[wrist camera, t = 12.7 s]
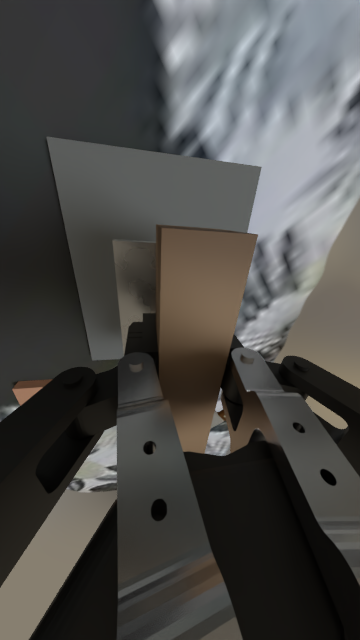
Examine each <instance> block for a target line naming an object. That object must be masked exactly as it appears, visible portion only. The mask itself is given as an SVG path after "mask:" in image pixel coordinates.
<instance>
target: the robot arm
mask: <svg viewBox="0 0 360 640" xmlns="http://www.w3.org/2000/svg"><path fill="white" fill-rule="evenodd" d="M221 388H222V392H221V402H222V406H223V410H224V414H225V418H226V422H227V426H228V429H229V433H230V440H231V446H230V448H231V449H230V451H231V453H230V454H229V455H226V456H216V455H210V454H203V453H196V452H190V451H187V452H183V450H182V446H181V443H180V439H179V436H178V432H177V429H176V425H175V422H174V419H173V415H172V412H171V408H170V405H169V402H168V400H167V398H165V399H164V398H163V394H162V391H161V387H160V383H159V379H158V344H157V332H156V313H143V322H133V323H132V324H131V325H130V326H129V328H128V334H127V340H126V347H125V353H124V357H122V358H121V359H120V361H119V362H118V366H116V367H115V368H113V369H111V370H109V371H106V372H102V373H99V374H95V372H94V371H93V370H92V369H90V368H87V367H75V368H71V369H68V370H66V371H64V372H62V373H60V374H59V375H58V376H56V377H55V378H54V379H53V380H51V381H50V382H49V383H48V384H47V385H45V386H44V387H43V388H42V389H40V390H39V391H38V392H37V393H36V394H34V395H33V396H32V397H31V398H29V399H28V400H27V401H26V402H24V403H23V404H22V405H21V406H20V407H18V408H17V409H16V410H15V411H13V412H12V413H11V414H10V415H9V416H7V417H6V418H5V419H4V420H2V421H1V422H0V587H1V585H2V584H3V582H4V581H5V580H6V578H7V576H8V575H9V573H10V572H11V571H12V569H13V567H14V566H15V565H16V563H17V562H18V560H19V559H20V557H21V556H22V554H23V552H24V551H25V549H26V548H27V547H28V545H29V544H30V542H31V540H32V539H33V538H34V536H35V534H36V533H37V531H38V530H39V529H40V527H41V526H42V524H43V523H44V521H45V520H46V518H47V516H48V515H49V513H50V512H51V511H52V509H53V507H54V506H55V505H56V503H57V502H58V500H59V499H60V497H61V496H62V494H63V492H64V491H65V490H66V488H67V487H68V485H69V484H70V482H71V481H72V479H73V478H74V476H75V475H76V473H77V472H78V470H79V469H80V467H81V466H82V464H83V463H84V461H85V460H86V458H87V457H88V455H89V454H90V452H91V451H92V449H93V448H94V446H95V445H96V443H97V442H98V440H99V439H100V437H101V436H102V434H103V432H104V430H106V429H109V428H111V427H113V426H116V425H117V499H116V500H115V502H114V503H113V505H112V506H111V508H110V509H109V511H108V512H107V514H106V516H105V517H104V519H103V521H102V522H101V524H100V526H99V527H98V529H97V530H96V532H95V534H94V535H93V537H92V538H91V540H90V542H89V543H88V545H87V546H86V548H85V550H84V551H83V553H82V555H81V556H80V558H79V559H78V561H77V563H76V564H75V566H74V567H73V569H72V571H71V572H70V574H69V576H68V577H67V579H66V580H65V582H64V584H63V585H62V587H61V588H60V590H59V592H58V593H57V595H56V597H55V598H54V600H53V602H52V603H51V605H50V606H49V608H48V610H47V611H46V613H45V615H44V616H43V618H42V620H41V621H40V623H39V624H38V626H37V628H36V629H35V631H34V632H33V634H32V635H31V637H30V639H29V640H360V389H359V388H357V387H355V386H353V385H352V384H350V383H348V382H346V381H344V380H342V379H341V378H339V377H337V376H335V375H333V374H331V373H330V372H328V371H326V370H324V369H322V368H320V367H319V366H317V365H315V364H313V363H311V362H309V361H308V360H306V359H303V358H301V357H297V356H286V357H285V358H284V359H283V361H282V363H281V364H278V363H272V362H266V361H265V360H264V359H263V357H262V356H261V355H260V354H259V353H257V352H256V351H254V350H251V349H248V348H244V347H243V345H242V344H241V343H240V341H239V340H238V339H237V337H236V336H235V335H234V334H233V338H232V342H231V347H230V351H229V355H228V359H227V363H226V367H225V371H224V375H223V379H222V383H221ZM308 395H309V396H310V397H312V398H313V399H315V400H316V401H318V402H319V403H321V404H322V405H324V406H325V407H327V408H328V409H330V410H331V411H333V412H334V413H336V414H337V415H339V416H340V417H342V418H343V419H344V420H345V421H346V422H347V424H348V427H347V428H346V429H338V428H335V427H334V426H332V425H331V424H329V423H328V422H326V421H325V420H324V419H322V418H321V417H320V416H318V415H317V414H315V413H314V412H313V411H312V410H311V409H310V407H309V406H308V404H307V403H306V402H305V400H306V398H307V397H308Z"/></svg>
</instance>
